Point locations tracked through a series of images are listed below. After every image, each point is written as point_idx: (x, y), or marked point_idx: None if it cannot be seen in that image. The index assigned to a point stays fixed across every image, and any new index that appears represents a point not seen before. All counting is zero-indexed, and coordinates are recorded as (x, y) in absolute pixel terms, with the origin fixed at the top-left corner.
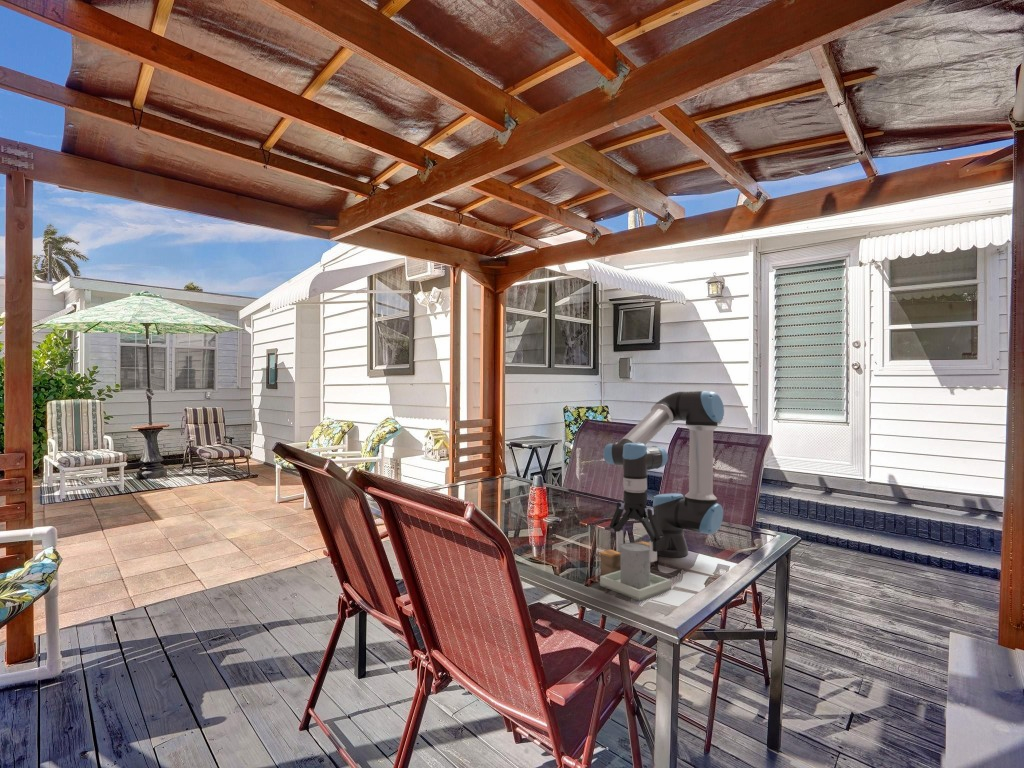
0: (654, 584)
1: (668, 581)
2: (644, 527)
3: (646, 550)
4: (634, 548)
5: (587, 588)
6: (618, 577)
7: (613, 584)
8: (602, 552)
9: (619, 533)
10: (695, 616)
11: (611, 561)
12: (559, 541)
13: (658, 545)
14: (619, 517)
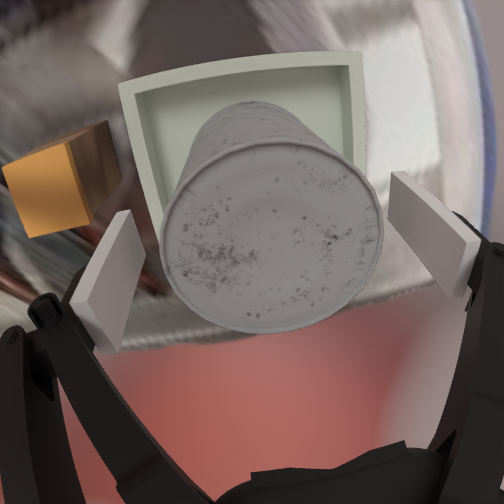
0: (356, 157)
1: (362, 72)
2: (451, 389)
3: (381, 243)
4: (288, 268)
5: (181, 304)
6: (161, 181)
7: None
8: (37, 233)
9: (112, 327)
10: (488, 181)
11: (98, 208)
12: None
13: (477, 232)
14: (37, 429)
